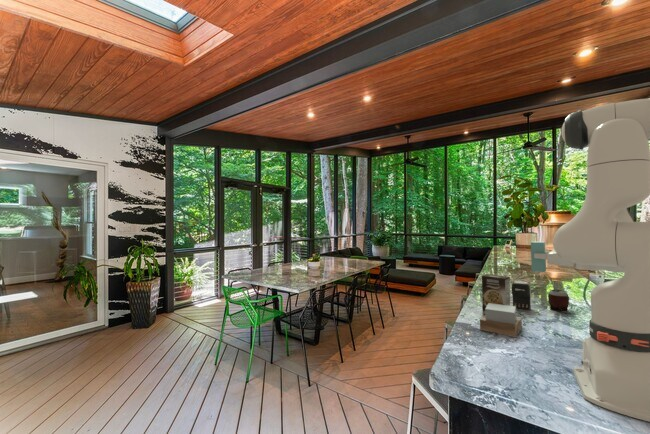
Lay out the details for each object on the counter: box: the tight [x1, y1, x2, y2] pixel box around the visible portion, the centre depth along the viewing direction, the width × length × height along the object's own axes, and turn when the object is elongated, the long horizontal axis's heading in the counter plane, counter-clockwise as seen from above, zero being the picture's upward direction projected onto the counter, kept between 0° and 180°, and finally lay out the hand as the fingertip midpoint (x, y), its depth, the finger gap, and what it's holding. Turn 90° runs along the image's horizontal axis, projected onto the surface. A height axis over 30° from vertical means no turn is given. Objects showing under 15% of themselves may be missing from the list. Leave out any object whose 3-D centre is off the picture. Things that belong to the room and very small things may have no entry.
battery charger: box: [511, 281, 532, 310], centre depth 132 cm, size 7×4×11 cm, turn 47°
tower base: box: [479, 315, 523, 338], centre depth 109 cm, size 11×11×4 cm
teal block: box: [530, 241, 547, 273], centre depth 114 cm, size 4×4×11 cm
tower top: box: [484, 303, 517, 324], centre depth 109 cm, size 9×9×4 cm
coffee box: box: [481, 273, 511, 315], centre depth 125 cm, size 9×6×16 cm
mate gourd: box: [544, 272, 570, 312], centre depth 130 cm, size 8×8×15 cm
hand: (535, 254), depth 114 cm, fingers closed on teal block, 4 cm apart
